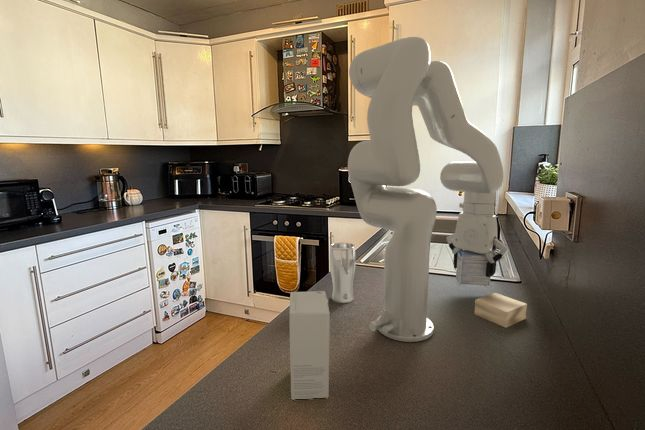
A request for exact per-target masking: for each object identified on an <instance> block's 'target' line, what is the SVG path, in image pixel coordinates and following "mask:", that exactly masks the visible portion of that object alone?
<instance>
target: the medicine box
mask: <svg viewBox="0 0 645 430" xmlns="http://www.w3.org/2000/svg"><path fill="white" fill-rule="evenodd" d="M487 262H489V260H488V258H487V256H486V255H485V254H480V253H475V252H471V251H466V250H458V256H457V268H455V269H456V271H455V279H456V281H457V283H458V284H459V285H466V286H467V285H469V286H471V285H474V286H490V285H491V277H486V266H487Z"/></svg>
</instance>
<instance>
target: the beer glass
mask: <svg viewBox="0 0 645 430" xmlns="http://www.w3.org/2000/svg"><path fill="white" fill-rule="evenodd" d="M329 246H330V247H329V270H330V276H331V281H332V294H331V300H332V302H334V303H337V304H349V303H351V302H353V301H354V299H355V297H354V290H353V283H354V277H355V271H356V246H355V244H354V243H351V242H335V243H332V244H330V245H329Z"/></svg>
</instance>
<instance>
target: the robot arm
mask: <svg viewBox="0 0 645 430" xmlns="http://www.w3.org/2000/svg"><path fill="white" fill-rule="evenodd" d="M348 69H349V70H348V76H349V80H350V83H351V85H352V87H354V89H355V90H356V92H358V93H359V94H361V95H363V96H365V97H367V98H369V99H370V102H369V105H368V108H367V112H366V115H367V117H366V121H367V123H366V124H367V128H368V134H369V140H368V139H367V140H363V141H359V142H358V143H357V144H355V145H354V146H353V147H352V149H351V150H350V152H349V155H348V159H347V171H348V177H349V182H350V185H351V188H352V192H353V196H354V197H353V198H354V199H355V200H354V201H355V203H356V207H357V210H358V213H359V215H360V216H359V217H360V218H361V219H362V220H363V222H364V223H366V225H368V226H370V227H371V226H372V227H374V228H379V229H382V230H383V229H384V230H387V231H388V230H389V231H391V232H393V234H392V236H391V238H390V239H389V241H388V242H387V244H386V246H385V249H384V253H383V254H384V258H383V261H384V262H383V264H384V265H383V269H384V270H383V272H384V273H383V310H381V311H380V315H379V316H378V317H377V318H376V320H372V321H371V322H369V324H368V326H369V329H370V331H372V332H376V331H378V332H380V334H382V336H384V337H387V338H388V339H392V340H394V341H399V342H406V343H414V342H417V343H418V342H421V341H424V340H425V341H426V340H427V339H429V338H431V337H432V335H433V334H434V330H435V329H434V328H435V326H434V323H433V322H432V321H431V320H430V319H429V318H428V303H429V302H428V300H429V299H428V298H429V297H428V295H429V278H430V277H429V276H430V275H429V273H430V254H431V253H430V251H431V240H432V235H433V229H434V226H435V222H436V216H437V212H438V211H437V210H438V209H437V203H436V200H435V199H434V198H433V196H431V194H429V193H428V192H426V191H423V190H421V189H417V188H409V187H404V186H409V185H412V184H413V183H415V182H416V181H417V180H418V178H419V177H420V173H421V160H420V154H419V149H418V142H417V137H416V131H415V127H414V120H413V106H416V107H418V110H419V111H420V114H421V117H422V120H423V121H424V124H425V127H426V129H427V133H428V134H429V136H430V138H431V139H432V140H434V142H437V143H439V144H441V145H443V146H446V147H448V148H451V149H454V150H456V151H459V152H461V153H463V154H465V155H467V156H468V157H470V159H472V160H473V161H471V160H470V161H466V160H465V161H464V160H463V161H462V160H461V161H459V160H458V161H451V162H449V163H447V164H445V165H444V166H443V168H442V169H441V171H440V177H439V179H440V182H441V184H442V186H443V187H444V188H445V189H447V190H449V191H453V192H461V193H462V192H463V201H462V202H459V205H458V207H459V208H461V209H462V212H459V214H458V217H457V221H456V226H455V231H454V233H453V234H450V235H448V236H446V237H445V238H446V242H447V243H448V247H449V248H450V250H451V252H452V255H453V263H452V264H453V268H454V269H457V256H458V250H466V251H471V252H475V253H480V254H485V255H486V256H487V258H488V260H489V262H487V266H486V277H490V278H491V277H493V276H494V275H495V274H496V270H497V262H499V261H500V260H501V259H503V258H504V257H505V256H506V255H507V253H508V252H509V251H510V248H509V247H507V245H505V244H504V243H503V242H502V241H500V239H498V222H497V215H495V214H494V213H495V202H496V192H498V191H499V189H500V188H501V187H502V185H503V182H504V177H505V176H504V168H503V164H502V159H501V156H500V153H499V150H498V148H497V145H496V144H495V143H494V142H493V141H492V140H491V138H490V137H488V136H487V134H485V133H484V132H483V131H482V130H481V129H480V128H478V127H477V126H475V125H474V124H472V123H471V122H470V121H469V120H468V118H467V115H466V113H465V109H464V107H463V106H464V105H463V103H462V100H461V97H460V94H459V91H458V86H457V84H456V81H455V78H454V74H453V72H452V69H451V68H450V66H449V65H448V64H447V63H446V62H445V61H444V62H443V61H440V60H434V61H433V60H431V49H430V45H429V43H428V42H427V41H426V40H425V39H424V38H421V37H418V36H409V37H404V38H400V39H396V40H393V41H389V42H387V43H385V44H384V43H383V44H381V45H378V46H376V47H372V48H370V49H366V50H363V51H362V52H359V53H358V54H357V55H356V56H354V58H353V59H352V61H351V62H350V65H349V68H348ZM497 249H498V250H499V252H498V253H496V251H497Z"/></svg>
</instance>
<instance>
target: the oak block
mask: <svg viewBox="0 0 645 430" xmlns="http://www.w3.org/2000/svg"><path fill="white" fill-rule="evenodd" d="M527 308H528V303H526V302H523V301H520V300H517V299H514V298H511V297H508V296H506V295H503V294H500V293H498V292H493V293H490V294H488V295H484V296H482V297H479V298H477V299H475V300H474V315H476V316H477V317H480V318H482V319H485V320H487V321H490V322H492V323H495V324H496V325H498V326H501V327H504V328H508V327H511V326H513V325H515V324H517V323H520V322H522V321H523V320H526V319H527Z"/></svg>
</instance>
